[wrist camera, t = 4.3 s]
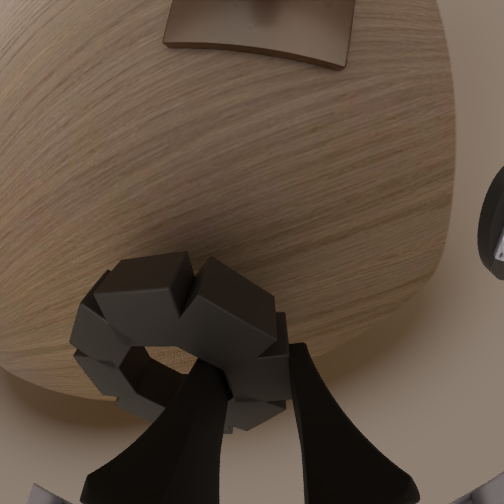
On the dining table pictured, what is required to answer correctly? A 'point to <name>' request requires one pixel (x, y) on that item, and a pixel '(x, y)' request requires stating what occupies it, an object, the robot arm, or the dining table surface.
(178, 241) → the dining table surface
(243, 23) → the peg stand
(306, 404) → the robot arm
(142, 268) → the ring
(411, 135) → the dining table surface
